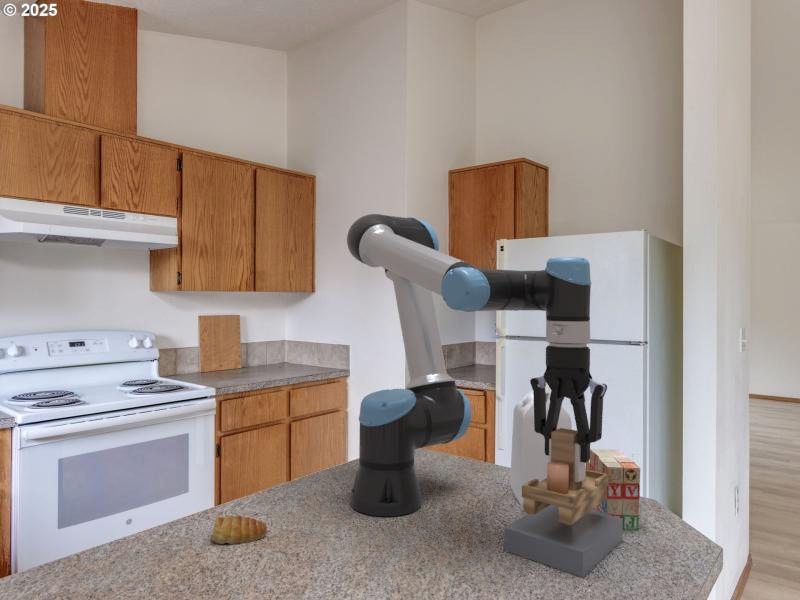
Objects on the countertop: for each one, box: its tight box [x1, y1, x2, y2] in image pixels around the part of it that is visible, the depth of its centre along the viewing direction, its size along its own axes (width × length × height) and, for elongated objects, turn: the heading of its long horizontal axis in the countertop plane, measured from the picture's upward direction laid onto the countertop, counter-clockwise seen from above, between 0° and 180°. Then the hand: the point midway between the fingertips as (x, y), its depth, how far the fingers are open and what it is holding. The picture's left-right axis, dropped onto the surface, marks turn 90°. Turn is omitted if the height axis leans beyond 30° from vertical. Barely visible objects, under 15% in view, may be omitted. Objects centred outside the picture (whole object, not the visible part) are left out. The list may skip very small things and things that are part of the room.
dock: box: [503, 505, 624, 578], centre depth 100 cm, size 14×18×4 cm
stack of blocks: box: [586, 448, 641, 531], centre depth 118 cm, size 21×6×12 cm, turn 176°
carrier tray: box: [522, 428, 609, 525], centre depth 100 cm, size 16×9×13 cm, turn 140°
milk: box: [509, 375, 573, 505], centre depth 126 cm, size 12×12×26 cm
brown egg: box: [547, 462, 569, 494], centre depth 97 cm, size 4×4×4 cm
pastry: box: [211, 514, 268, 545], centre depth 102 cm, size 9×7×4 cm
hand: (566, 476), depth 100 cm, fingers closed on carrier tray, 4 cm apart
